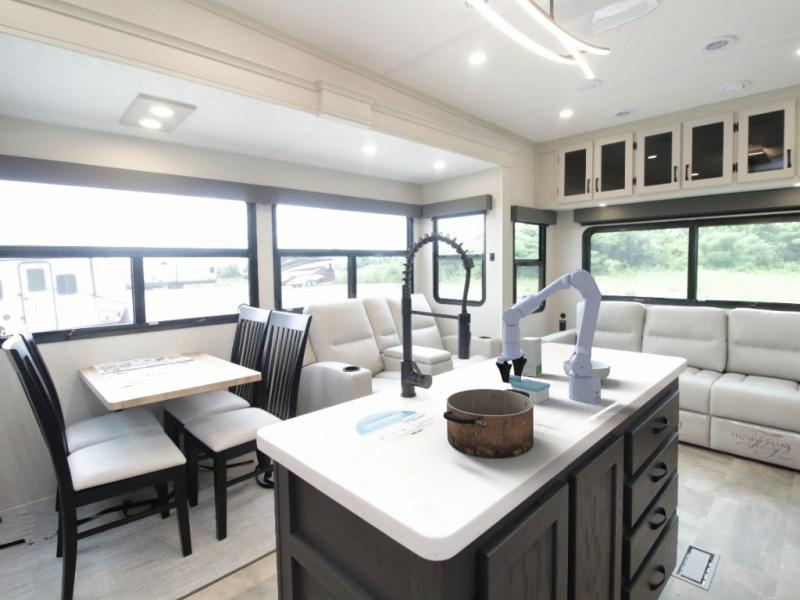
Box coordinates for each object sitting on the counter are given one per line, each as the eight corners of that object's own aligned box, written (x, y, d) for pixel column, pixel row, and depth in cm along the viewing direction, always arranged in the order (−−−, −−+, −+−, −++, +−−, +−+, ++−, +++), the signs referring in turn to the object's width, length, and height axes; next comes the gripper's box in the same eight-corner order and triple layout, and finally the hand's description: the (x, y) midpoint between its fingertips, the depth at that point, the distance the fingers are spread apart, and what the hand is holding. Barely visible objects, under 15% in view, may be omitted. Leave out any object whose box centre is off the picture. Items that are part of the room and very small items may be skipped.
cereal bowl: (618, 386, 153) (618, 368, 152) (573, 387, 153) (573, 369, 153) (597, 375, 170) (597, 358, 169) (557, 376, 170) (557, 359, 170)
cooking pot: (488, 415, 127) (488, 381, 126) (557, 435, 110) (557, 396, 110) (419, 445, 107) (418, 405, 106) (490, 475, 91) (489, 427, 90)
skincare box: (535, 377, 168) (535, 340, 167) (520, 375, 172) (519, 338, 171) (542, 373, 175) (542, 337, 174) (527, 371, 179) (526, 336, 178)
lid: (550, 386, 139) (550, 379, 139) (537, 392, 133) (536, 385, 133) (514, 379, 149) (514, 373, 149) (501, 384, 143) (501, 377, 143)
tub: (549, 399, 139) (549, 386, 139) (536, 405, 134) (536, 391, 133) (525, 394, 146) (525, 381, 145) (512, 399, 140) (512, 386, 140)
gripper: (513, 338, 152) (513, 374, 153) (489, 343, 142) (490, 382, 143) (530, 340, 146) (530, 377, 147) (507, 346, 137) (507, 386, 138)
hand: (511, 380), depth 145 cm, fingers open, 7 cm apart
